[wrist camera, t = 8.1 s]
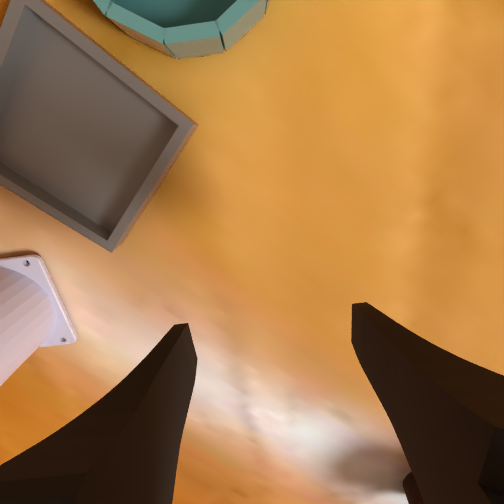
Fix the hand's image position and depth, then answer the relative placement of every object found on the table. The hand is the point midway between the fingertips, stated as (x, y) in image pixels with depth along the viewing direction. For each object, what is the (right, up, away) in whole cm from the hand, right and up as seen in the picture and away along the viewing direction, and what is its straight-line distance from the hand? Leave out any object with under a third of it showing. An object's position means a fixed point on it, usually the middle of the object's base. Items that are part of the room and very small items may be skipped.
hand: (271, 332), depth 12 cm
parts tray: (-11, +11, +5) cm, 16 cm away
